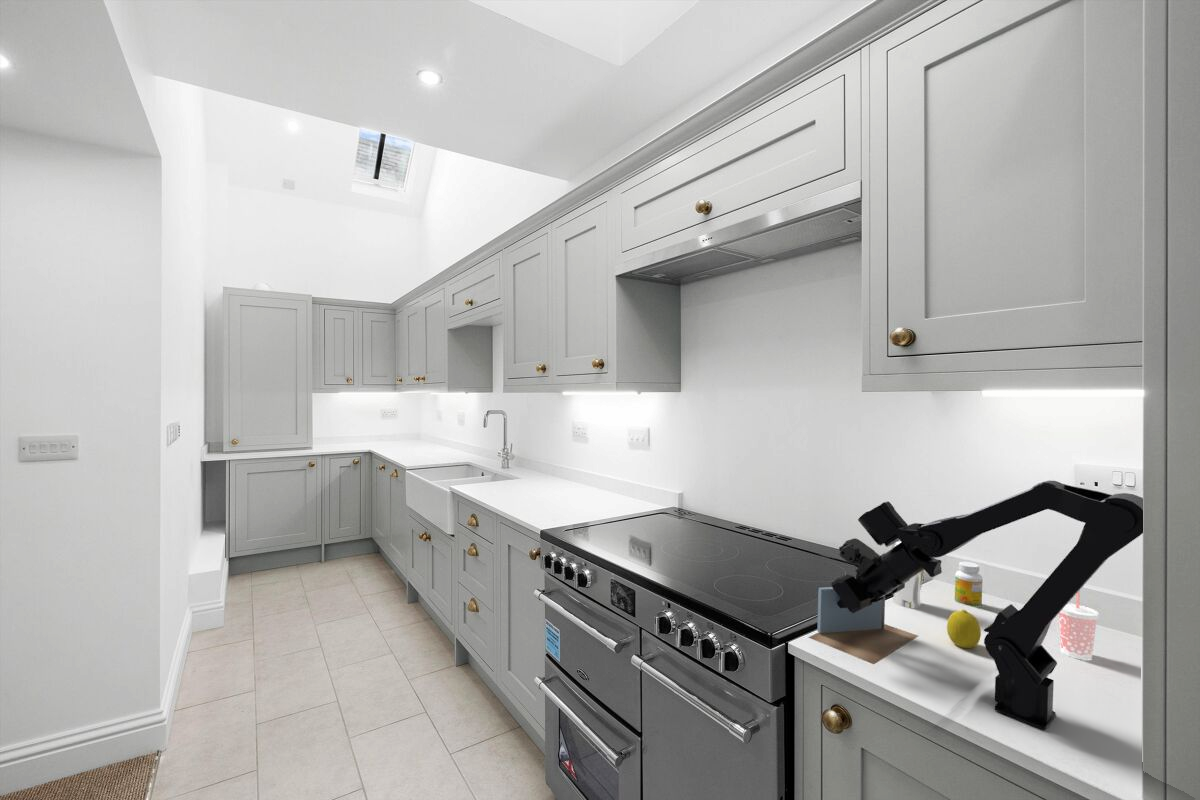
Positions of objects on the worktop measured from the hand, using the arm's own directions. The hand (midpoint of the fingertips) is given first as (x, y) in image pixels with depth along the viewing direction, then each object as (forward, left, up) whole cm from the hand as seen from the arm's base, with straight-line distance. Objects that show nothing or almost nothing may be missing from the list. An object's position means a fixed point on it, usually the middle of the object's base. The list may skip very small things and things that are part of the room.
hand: (840, 605), depth 111 cm
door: (0, -4, -6) cm, 7 cm away
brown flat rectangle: (-3, -3, -7) cm, 8 cm away
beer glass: (-1, -29, -7) cm, 30 cm away
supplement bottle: (-9, -43, -7) cm, 44 cm away
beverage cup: (-31, -32, -7) cm, 45 cm away
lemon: (-17, -16, -7) cm, 24 cm away
